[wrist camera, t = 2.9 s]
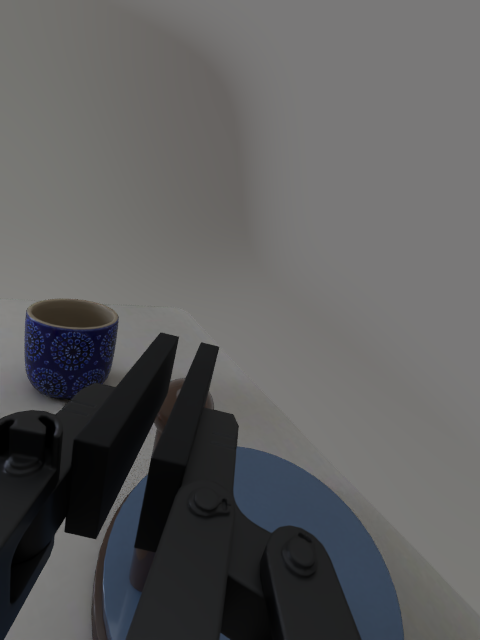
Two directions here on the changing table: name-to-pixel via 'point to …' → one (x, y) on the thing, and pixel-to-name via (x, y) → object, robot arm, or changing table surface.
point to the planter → (68, 345)
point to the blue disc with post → (269, 513)
